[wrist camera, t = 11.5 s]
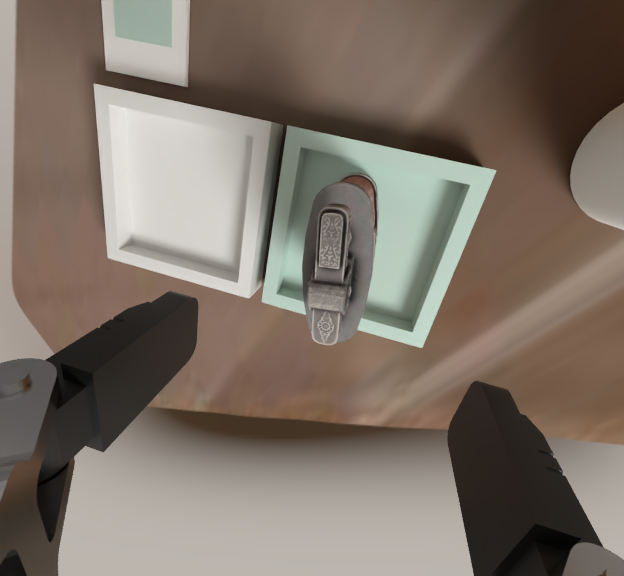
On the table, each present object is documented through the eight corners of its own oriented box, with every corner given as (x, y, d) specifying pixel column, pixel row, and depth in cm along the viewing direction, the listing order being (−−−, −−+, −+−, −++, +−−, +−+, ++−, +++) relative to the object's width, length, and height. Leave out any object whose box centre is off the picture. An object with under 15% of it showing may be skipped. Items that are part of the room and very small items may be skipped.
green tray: (298, 128, 21) (287, 125, 19) (484, 168, 20) (496, 170, 17) (272, 289, 26) (261, 302, 24) (418, 330, 25) (422, 348, 23)
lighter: (370, 291, 23) (358, 378, 14) (324, 285, 24) (285, 365, 15) (385, 174, 20) (382, 192, 11) (332, 170, 21) (288, 185, 12)
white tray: (122, 90, 23) (93, 83, 20) (283, 125, 21) (271, 121, 19) (130, 249, 28) (107, 258, 25) (261, 286, 26) (249, 298, 24)
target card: (99, -88, 19) (93, -93, 19) (192, -74, 18) (187, -79, 18) (109, 70, 22) (104, 69, 22) (187, 87, 22) (184, 86, 21)
